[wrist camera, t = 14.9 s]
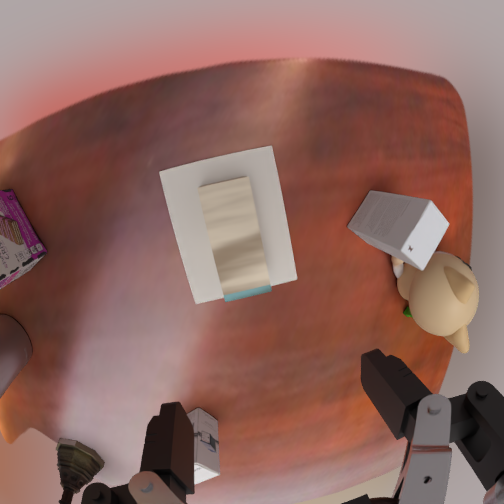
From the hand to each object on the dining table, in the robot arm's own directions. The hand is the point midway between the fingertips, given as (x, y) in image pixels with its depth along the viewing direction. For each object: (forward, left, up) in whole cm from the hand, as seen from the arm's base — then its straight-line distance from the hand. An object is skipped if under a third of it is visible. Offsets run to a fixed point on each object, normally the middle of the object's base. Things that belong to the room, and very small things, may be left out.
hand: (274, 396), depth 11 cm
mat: (-1, +2, -24) cm, 24 cm away
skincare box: (+14, +12, -24) cm, 30 cm away
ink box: (+7, -30, -24) cm, 40 cm away
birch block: (+3, -3, -21) cm, 22 cm away
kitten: (+26, +8, -24) cm, 36 cm away
